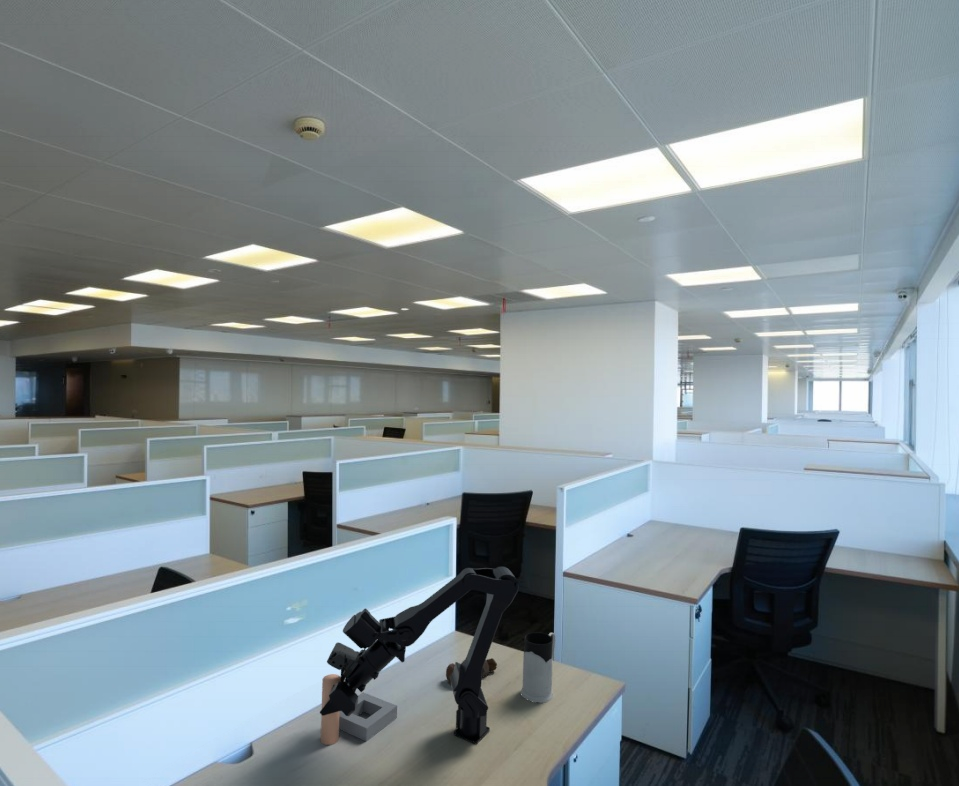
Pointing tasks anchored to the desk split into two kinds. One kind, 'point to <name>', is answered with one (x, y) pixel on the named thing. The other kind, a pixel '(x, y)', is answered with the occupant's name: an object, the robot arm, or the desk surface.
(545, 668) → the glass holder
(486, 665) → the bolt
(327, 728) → the peg
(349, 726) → the socket block
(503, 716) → the desk surface
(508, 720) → the desk surface
